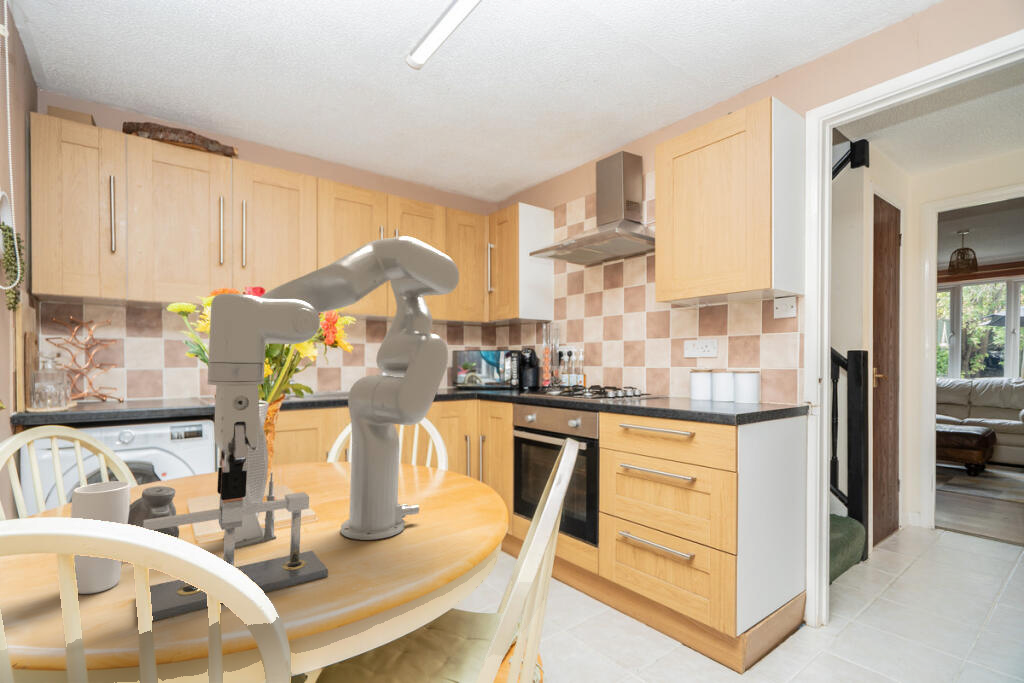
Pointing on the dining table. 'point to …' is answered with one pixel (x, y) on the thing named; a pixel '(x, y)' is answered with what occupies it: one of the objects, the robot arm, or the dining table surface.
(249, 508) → the divider frame
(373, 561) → the dining table surface
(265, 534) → the skyscraper
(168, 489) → the pipe fitting
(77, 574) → the grey cup
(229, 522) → the sliding leg
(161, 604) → the bolt plate
